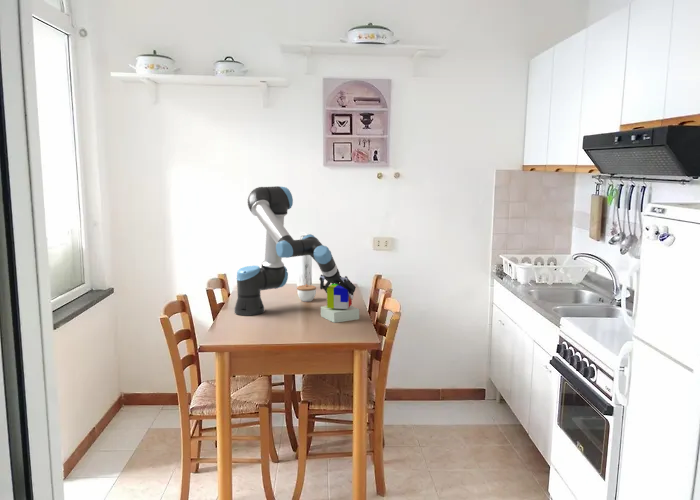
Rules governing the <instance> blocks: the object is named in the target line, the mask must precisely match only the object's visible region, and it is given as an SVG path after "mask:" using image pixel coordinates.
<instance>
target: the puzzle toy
mask: <svg viewBox="0 0 700 500" xmlns="http://www.w3.org/2000/svg"><path fill="white" fill-rule="evenodd" d="M352 301H353V300H351V298H350V296H349V294H348V290H347V289H345V288H343V287H342V286H339V285H338V284H332V283H330V285H329V287H328V288H327V293H326V306H327V308H338V309H348V308H349V307H350V306H352V303H353V302H352Z"/></svg>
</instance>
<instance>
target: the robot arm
mask: <svg viewBox="0 0 700 500" xmlns="http://www.w3.org/2000/svg"><path fill="white" fill-rule="evenodd" d="M293 203H294V199H293V194H292V192H291V190H290V189H289V188H287V187H285V186H258V187H256V188H254V189H252V190H251V191H250V192H249V194H248V198H247V206H248V209H249V211H250V213H251V214H252V215H253V216H254V217H257V218H258V220H259V222H260V223H261V225H262V226H263V227H264V228H265V230H266V231H265V233H266V235H265V253H264V261H262V262H261V267H260V266H259V265H248V266H243V267H242V268H241V267H240V268H239V269H238V270H237V272H236V289H237V299H236V302H235V306H234V314H235V313H236V314H235V315H237V314H238V316H256V315H261V314H264V312H265V305H264V303H263V301H262V297H261V292H262V291H266V290H268V291H269V290H274V289H275V290H277V289H279V288H284V286H285V285H287V282H288V279H289V272H288V268H287V267H286V266H285V263H284V262H283V261H282V259H283V258H285V259H287V258H295V257H304V256H310V257H311V258H312V259H313V260H314V261H315V262H316V264H317V265H318V268H319V269H320V272H321V273H322V274H320V275H319V283H320V285H319V288H320V290H324V292H325V293H326V294H327V288H328V287H329V286H330V285H331V284H338V285H339V286H342V287H343V288H345V289H347V290H348V294H349V296H350V298H351V300H352V301H353V299H354V294H355V291H356V288H357V287H356V286H355V285H354V283H353V282H352V281H351V280H350V279H349V278H348V276H347V275H345V276H341V274H340V273H341V272H340V271H339V268H338V266H337V264H336V261H335V260H334V257H333V255H332V252H331V250H330V248H329V247H328V246H326V245H323V243H322V242H320V240H319V239H318V238H317V237H316V236H314V234H311V233H310V234H309V233H308V234H306V235H304V236H303V237H302V239H294V238H293V236H291V235H290V233H289V232H288V230H287V229H286V227H285V225H284V224H285V223H284V222H285V217H286V216H287V215H288V210H290V209H291V208H292V207H293ZM325 281H326V283H325Z"/></svg>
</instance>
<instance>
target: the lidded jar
mask: <svg viewBox="0 0 700 500" xmlns="http://www.w3.org/2000/svg"><path fill="white" fill-rule="evenodd" d="M296 292H297V296H298V298H299V300H301V302H304V303H305V302H307V303H309V302H312V301H313V300H314V298H315V297H316V293H317V286H315V285H313V284H307V283H305V284H304V285H298V286H297V287H296Z"/></svg>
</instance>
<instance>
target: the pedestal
mask: <svg viewBox="0 0 700 500" xmlns="http://www.w3.org/2000/svg"><path fill="white" fill-rule="evenodd" d="M320 317H321V318H323V319H326V320H327V321H329V322H332V323H334V324H335V323H336V324H337V323H342V322H348V321H354V320H360V308H357V307H355V306H352V305H351V306H350V307H349V308H348V309H338V308H327V305H324V306H322V305H321V306H320Z"/></svg>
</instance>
